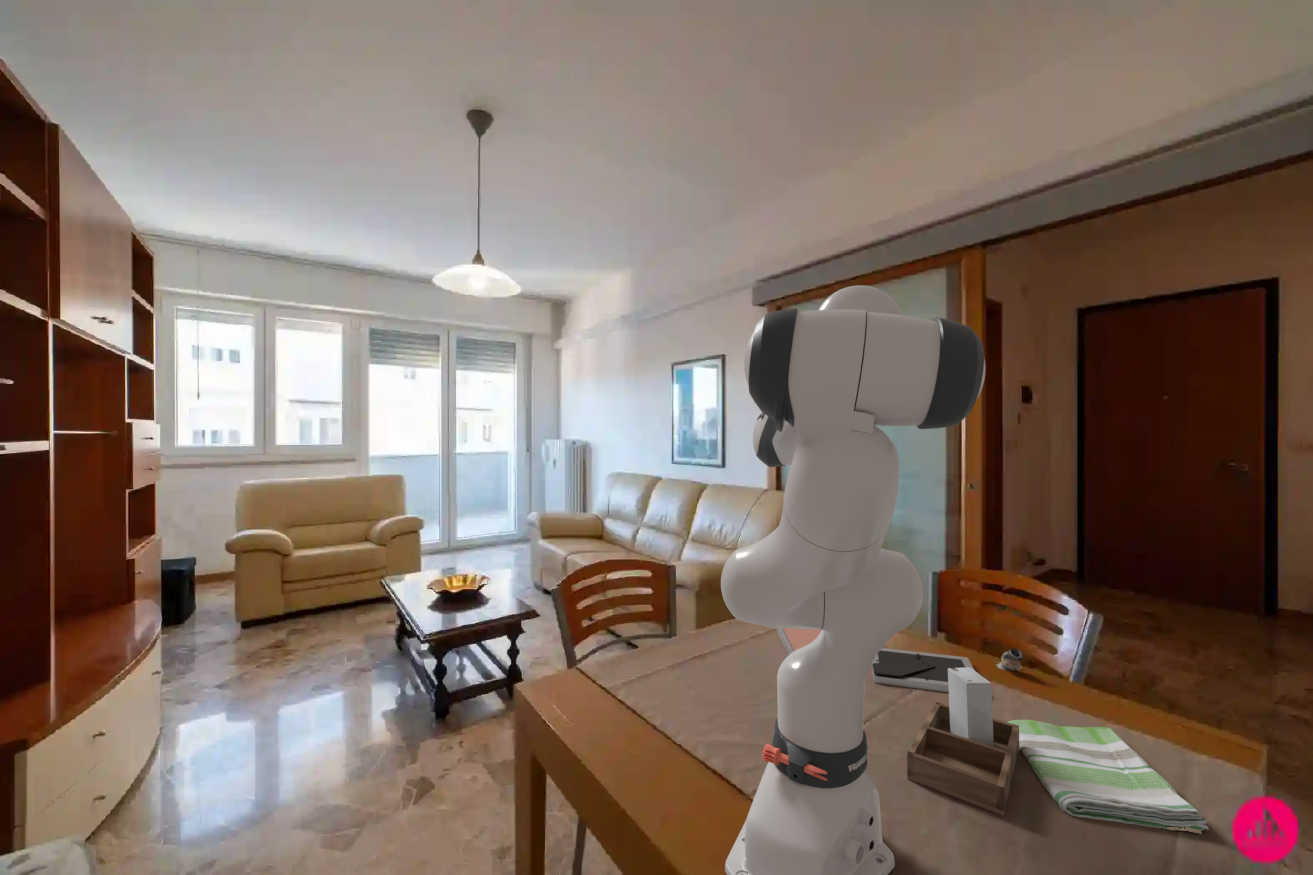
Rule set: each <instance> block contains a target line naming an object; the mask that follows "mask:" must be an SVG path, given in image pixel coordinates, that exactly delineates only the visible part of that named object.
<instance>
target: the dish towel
mask: <svg viewBox="0 0 1313 875" xmlns="http://www.w3.org/2000/svg"><path fill="white" fill-rule="evenodd" d="M1007 722H1008V723H1011V724H1015V725H1018V726H1019V751H1020V752H1021V754H1023V756H1024V758H1025V759H1026V760H1027V762H1028V764H1029V766H1030V767H1031V769H1032V771H1033V773H1034V775H1035V776H1036V777H1037V779H1038V781H1039V783H1040V784H1042V786H1043V787H1044V788H1045V789H1046V791H1047V792H1048V794H1049V795H1050V796H1051V798H1052V799H1053V800H1054V801H1055V802H1056V804H1057V806H1058V807H1059V808H1060V810H1061V811H1063V812H1066V813H1067V814H1068V815H1069V816H1073V817H1080V818H1086V819H1092V820H1099V821H1106V822H1107V821H1108V822H1115V823H1122V824H1128V825H1136V826H1140V827H1141V826H1143V827H1147V828H1155V829H1156V828H1157V829H1161V828H1167V827H1178V828H1179V829H1180V828H1181V829H1182V827H1183V828H1184V829H1185V828H1186V827H1188V828H1189V827H1190V828H1193V829H1196V830H1197V829H1198V830H1201V831H1203V832H1204V830H1205V829H1207V830H1206V831H1209V830H1210V829H1209V827H1208V825H1206V824H1208V819H1206V818H1205V817H1203V814H1202V813H1201V812H1200V811H1199V810H1197V808H1195V807H1194V806H1193V805H1192V804H1191V803H1189V802H1188V801H1187V800H1186V799H1184V798H1182V797H1181V796H1180V795H1179V794H1178V792H1177V791H1176V790H1175V788H1174V787H1173V786H1172V784H1170V783H1169V781H1167V780H1166V779H1165V777H1163V776H1162V775H1161V774H1160V773H1158V772H1157V771H1156V770H1154V769H1153V768H1152V767H1151V766H1150V765H1149V764H1148V763H1147V762H1146V761H1145V759H1143V757H1142V756H1141V755H1140V754H1139V753H1137V751H1135V750H1134V749H1133V748H1132V747H1130V746H1129V745H1128V744H1127V743H1126V742H1125V740H1123V739H1122V738H1121V737H1120V736H1119V735H1118V734H1117V733H1116V732H1115V731H1114V730H1113V729H1112V728H1111V727H1105V726H1093V727H1092V726H1091V727H1087V726H1085V727H1084V726H1083V727H1081V726H1061V725H1055V724H1053V723H1049V722H1043V721H1038V720H1033V719H1013V720H1009V721H1007Z"/></svg>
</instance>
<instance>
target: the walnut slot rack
mask: <svg viewBox="0 0 1313 875" xmlns="http://www.w3.org/2000/svg"><path fill="white" fill-rule="evenodd" d="M993 739H994V747H993V746H990V745H987V744H984V743H980V742H977V741H974V740H971V739H968V738H965V737H961V736H958V735H955V734H952V733H950V711H949V704H945V703H941V702H938V701H936V702H935V703H934V705H933V707H932V709H931V710H930V713H929V714H928V716H927V718H926V720H925V721H924V722H923V725H922V727H921V729H920V730H919V732H918V733H917V735H916V737H915V739H914V740H913V742H912V744H911V746H910V748H909V749H908V751H907V753H906V756H907V757H906V759H907V760H906V764H907V770H906V771H907V774H906V776H907V777H906V778H907V780H909V781H912V782H914V783H918V784H919V785H922V786H925V787H928V788H930V789H933V790H935V791H938V792H940V793H943V794H946V795H948V796H950V797H953V798H956V799H959V800H962V801H964V802H967V803H970V804H972V805H975V806H977V807H980V808H982V809H985V810H988V811H991V812H992V813H995V814H997V815H1000V816H1005V813H1006V807H1007V804H1008V800H1009V795H1010V791H1011V786H1012V782H1013V778H1014V774H1015V769H1016V766H1017V761H1018V757H1019V754H1020V753H1019V752H1020V748H1019V726H1018V725H1015V724H1011V723H1008V721H1004V720H1000V719H996V718H993Z"/></svg>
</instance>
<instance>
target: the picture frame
mask: <svg viewBox="0 0 1313 875" xmlns="http://www.w3.org/2000/svg"><path fill="white" fill-rule="evenodd" d="M966 667H968V668H971V669H973V670H974V671H975V672H976V670H975V668H974V667H973V665H972V663H971V661H970V659H969V657H967V656H966V657H965V656H958V655H950V654H941V653H940V654H939V653H931V652H921V651H914V650H913V651H912V650H904V649H895V648H894V649H893V648H886V647H882V648H881V650H880V651H879V652H878V654H877V655H876V657H875V659H874V661H873V662H872V665H871V670H872V678H873V679H872V680H873V683H876V684H879V685H880V684H882V685H890V686H897V687H898V686H899V687H903V688H904V687H906V688H913V689H919V690H927V691H928V690H929V691H934V692H943V693H949V688H948V668H966Z"/></svg>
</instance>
